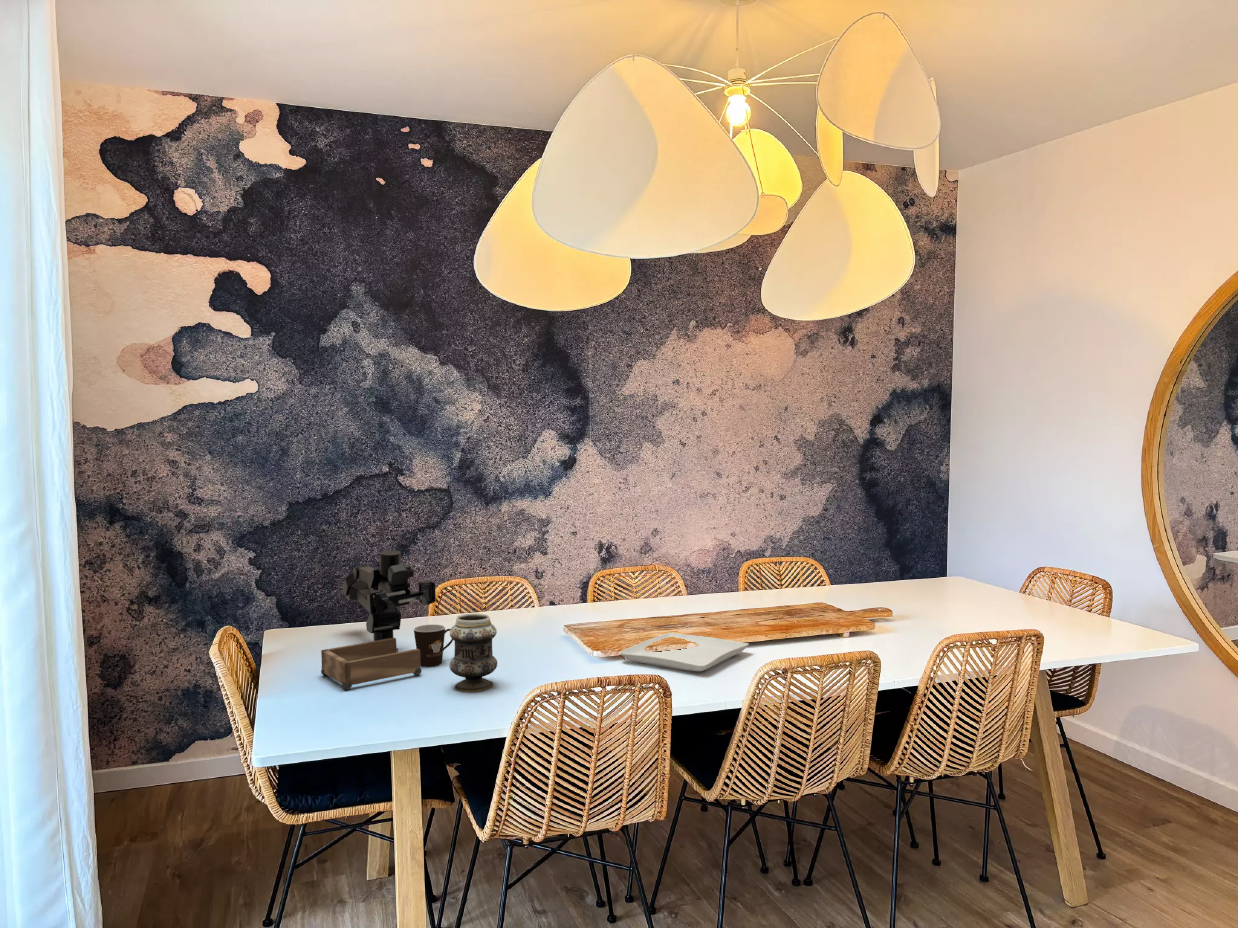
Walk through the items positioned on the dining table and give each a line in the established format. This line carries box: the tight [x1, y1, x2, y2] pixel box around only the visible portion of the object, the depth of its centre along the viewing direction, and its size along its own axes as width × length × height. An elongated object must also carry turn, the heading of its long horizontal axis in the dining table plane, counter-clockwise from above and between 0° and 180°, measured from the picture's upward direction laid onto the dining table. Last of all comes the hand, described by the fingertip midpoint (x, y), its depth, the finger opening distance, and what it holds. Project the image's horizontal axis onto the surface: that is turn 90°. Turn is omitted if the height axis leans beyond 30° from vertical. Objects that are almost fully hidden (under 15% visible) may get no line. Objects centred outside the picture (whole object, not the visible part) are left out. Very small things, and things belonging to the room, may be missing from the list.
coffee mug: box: [413, 624, 454, 668], centre depth 256 cm, size 12×9×10 cm
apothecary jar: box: [449, 613, 498, 693], centre depth 234 cm, size 12×12×18 cm
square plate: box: [618, 632, 750, 672], centre depth 258 cm, size 27×27×4 cm
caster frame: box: [320, 637, 423, 691], centre depth 245 cm, size 18×21×7 cm
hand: (412, 605), depth 248 cm, fingers open, 9 cm apart
